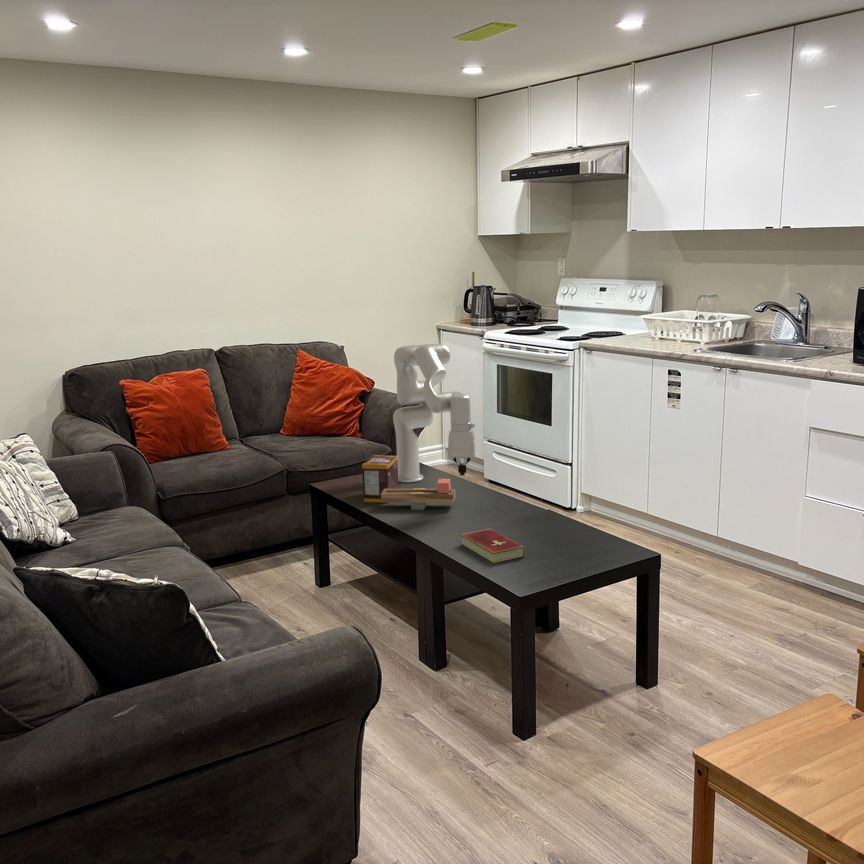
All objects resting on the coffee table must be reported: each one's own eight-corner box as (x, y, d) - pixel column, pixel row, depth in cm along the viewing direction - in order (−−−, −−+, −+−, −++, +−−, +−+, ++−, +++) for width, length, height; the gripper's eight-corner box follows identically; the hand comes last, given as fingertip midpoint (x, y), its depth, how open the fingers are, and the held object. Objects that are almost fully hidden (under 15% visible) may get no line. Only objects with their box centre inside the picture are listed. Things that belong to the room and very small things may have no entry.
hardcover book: (491, 539, 295) (491, 527, 294) (525, 557, 276) (524, 545, 275) (460, 545, 289) (460, 533, 288) (493, 564, 271) (492, 552, 270)
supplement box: (399, 492, 352) (397, 455, 349) (388, 503, 338) (386, 465, 335) (375, 491, 355) (373, 454, 352) (363, 502, 340) (361, 464, 337)
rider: (439, 493, 333) (439, 478, 331) (450, 493, 332) (450, 478, 331) (437, 497, 327) (437, 483, 326) (449, 497, 326) (448, 483, 325)
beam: (385, 503, 337) (384, 487, 336) (455, 504, 334) (455, 488, 332) (381, 509, 330) (380, 493, 328) (453, 510, 326) (453, 494, 325)
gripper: (481, 425, 325) (482, 472, 329) (442, 425, 327) (444, 472, 331) (479, 429, 318) (481, 477, 322) (440, 429, 320) (441, 477, 324)
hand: (462, 474), depth 326 cm, fingers closed
